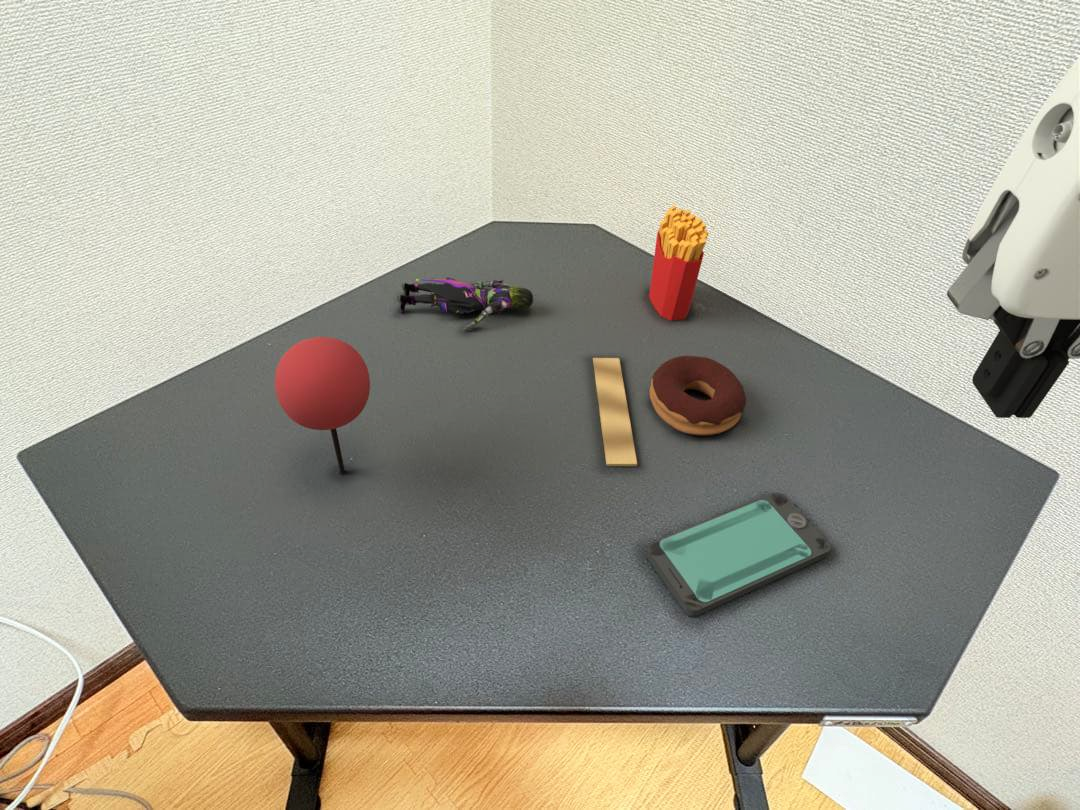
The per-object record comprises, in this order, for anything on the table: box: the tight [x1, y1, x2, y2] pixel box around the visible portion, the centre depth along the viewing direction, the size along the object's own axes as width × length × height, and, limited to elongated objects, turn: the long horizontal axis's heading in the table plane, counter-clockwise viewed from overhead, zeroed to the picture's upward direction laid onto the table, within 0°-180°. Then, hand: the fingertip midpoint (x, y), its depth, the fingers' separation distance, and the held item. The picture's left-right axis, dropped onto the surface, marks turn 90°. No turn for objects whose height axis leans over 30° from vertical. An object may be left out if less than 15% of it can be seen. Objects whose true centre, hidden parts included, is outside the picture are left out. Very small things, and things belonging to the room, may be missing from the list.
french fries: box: [648, 204, 709, 322], centre depth 86 cm, size 8×4×12 cm, turn 15°
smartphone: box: [645, 492, 832, 617], centre depth 63 cm, size 7×1×15 cm
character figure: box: [397, 276, 534, 331], centre depth 87 cm, size 9×4×16 cm
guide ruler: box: [592, 357, 638, 467], centre depth 76 cm, size 16×3×1 cm, turn 2°
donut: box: [649, 355, 747, 436], centre depth 76 cm, size 10×10×4 cm
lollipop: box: [274, 336, 371, 476], centre depth 64 cm, size 8×8×15 cm
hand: (998, 399), depth 39 cm, fingers closed
